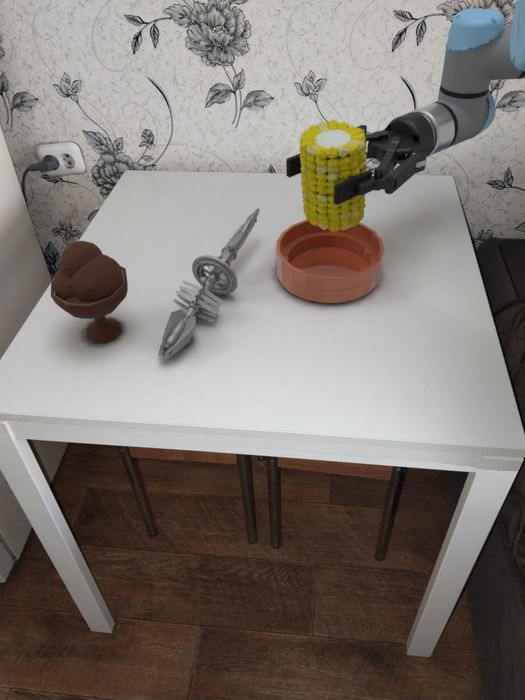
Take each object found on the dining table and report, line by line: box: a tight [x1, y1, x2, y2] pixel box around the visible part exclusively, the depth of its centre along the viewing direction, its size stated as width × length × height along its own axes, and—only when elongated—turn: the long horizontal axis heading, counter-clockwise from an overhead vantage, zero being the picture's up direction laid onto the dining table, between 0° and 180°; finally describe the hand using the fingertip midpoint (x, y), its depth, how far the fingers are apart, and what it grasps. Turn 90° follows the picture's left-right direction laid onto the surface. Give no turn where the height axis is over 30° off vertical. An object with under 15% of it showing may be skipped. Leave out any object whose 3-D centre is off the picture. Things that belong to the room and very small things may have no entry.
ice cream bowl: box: [50, 240, 129, 344], centre depth 85 cm, size 11×11×15 cm
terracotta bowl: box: [275, 219, 385, 304], centre depth 97 cm, size 17×17×6 cm
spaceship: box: [157, 208, 261, 360], centre depth 93 cm, size 8×35×8 cm
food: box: [299, 119, 368, 232], centre depth 87 cm, size 15×12×10 cm
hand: (310, 181), depth 84 cm, fingers closed on food, 10 cm apart
